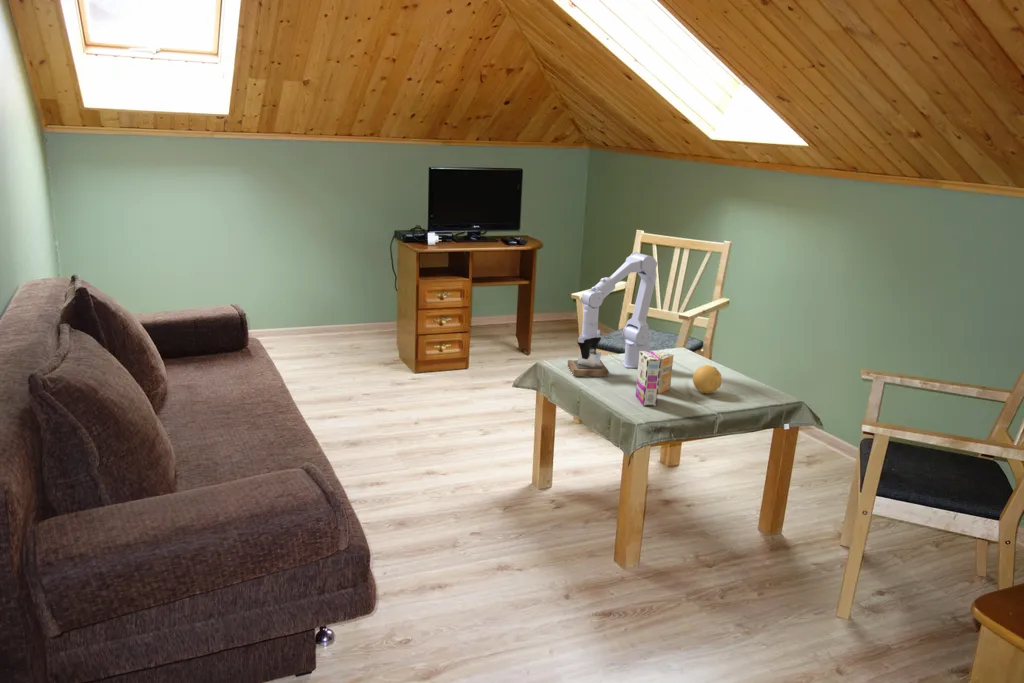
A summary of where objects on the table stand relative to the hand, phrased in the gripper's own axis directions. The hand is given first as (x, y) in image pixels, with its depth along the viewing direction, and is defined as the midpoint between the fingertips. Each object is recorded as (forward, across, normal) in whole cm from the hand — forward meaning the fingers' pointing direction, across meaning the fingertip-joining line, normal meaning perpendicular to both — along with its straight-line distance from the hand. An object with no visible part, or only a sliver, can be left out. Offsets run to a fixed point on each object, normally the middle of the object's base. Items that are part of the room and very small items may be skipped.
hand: (588, 357), depth 301 cm
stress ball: (+6, +4, -45) cm, 46 cm away
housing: (+3, 0, 0) cm, 3 cm away
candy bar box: (+6, -17, -31) cm, 36 cm away
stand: (+6, 0, 0) cm, 6 cm away
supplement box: (+6, -4, -31) cm, 32 cm away
